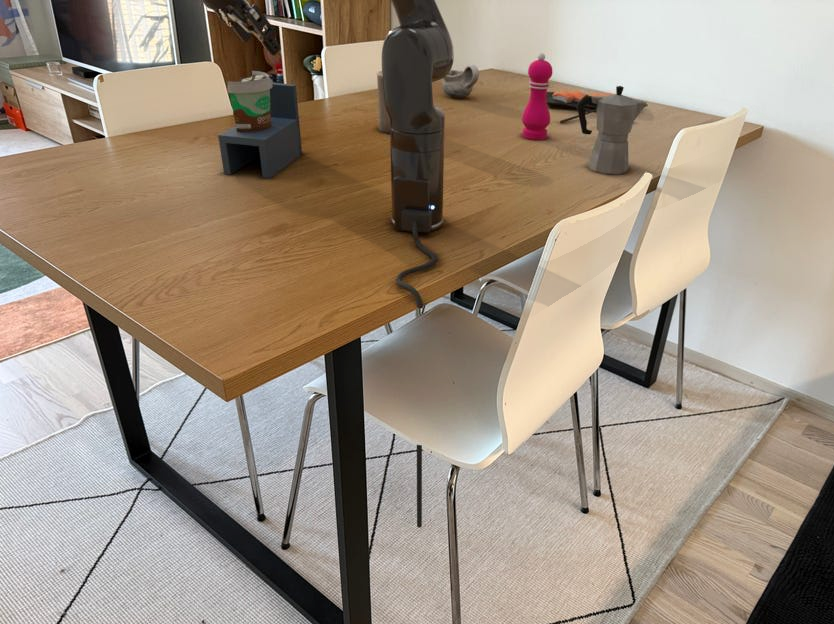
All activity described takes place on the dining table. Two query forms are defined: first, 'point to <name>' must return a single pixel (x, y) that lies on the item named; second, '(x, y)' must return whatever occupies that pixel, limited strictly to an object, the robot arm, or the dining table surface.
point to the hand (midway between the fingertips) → (262, 45)
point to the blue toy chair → (266, 136)
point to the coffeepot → (610, 130)
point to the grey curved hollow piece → (460, 81)
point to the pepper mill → (537, 100)
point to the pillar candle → (382, 106)
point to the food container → (251, 102)
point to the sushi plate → (569, 101)
